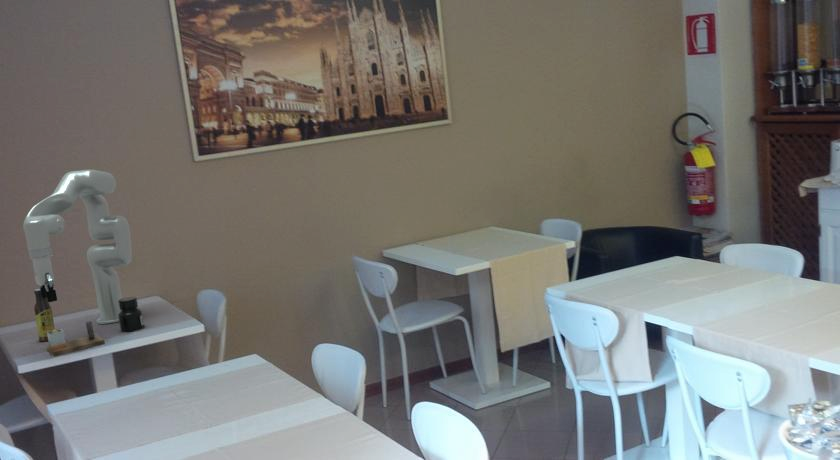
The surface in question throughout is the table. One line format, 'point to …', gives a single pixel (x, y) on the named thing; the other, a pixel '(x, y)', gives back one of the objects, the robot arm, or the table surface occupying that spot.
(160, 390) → the table surface
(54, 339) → the sleeve
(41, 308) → the sauce bottle
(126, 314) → the ink bottle
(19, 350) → the table surface
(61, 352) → the pin board
